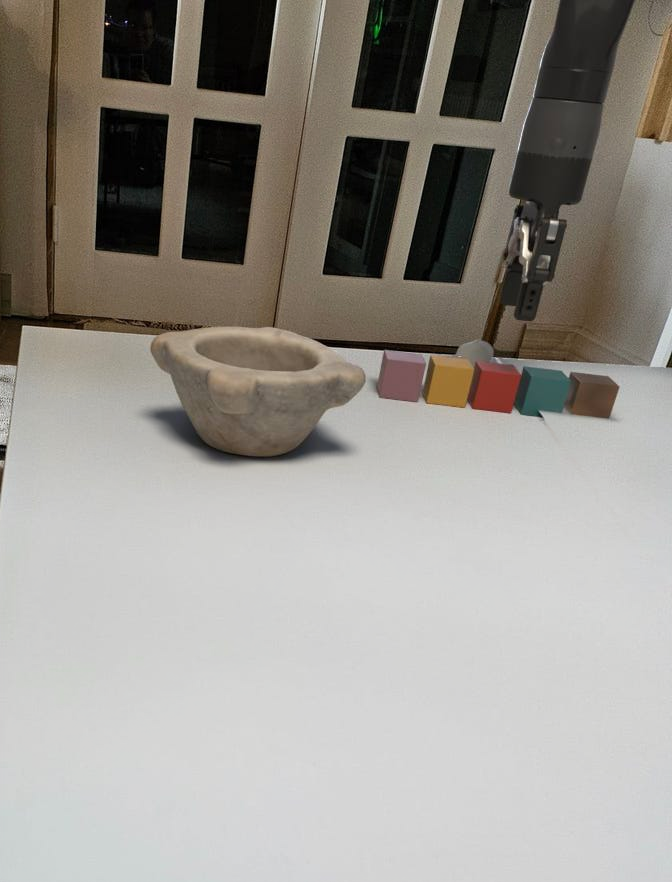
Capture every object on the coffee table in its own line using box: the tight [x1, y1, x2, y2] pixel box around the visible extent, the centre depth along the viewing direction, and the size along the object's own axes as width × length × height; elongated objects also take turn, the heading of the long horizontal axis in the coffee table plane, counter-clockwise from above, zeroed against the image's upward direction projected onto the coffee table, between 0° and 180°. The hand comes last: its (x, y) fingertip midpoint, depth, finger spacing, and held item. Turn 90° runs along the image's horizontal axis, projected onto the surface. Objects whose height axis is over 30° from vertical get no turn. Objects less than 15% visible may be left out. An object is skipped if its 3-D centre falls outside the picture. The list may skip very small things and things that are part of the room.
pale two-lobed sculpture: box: [452, 338, 495, 368], centre depth 124 cm, size 4×8×5 cm
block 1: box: [376, 349, 427, 403], centre depth 111 cm, size 4×4×4 cm
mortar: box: [149, 326, 366, 457], centre depth 90 cm, size 17×17×9 cm
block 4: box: [563, 371, 621, 420], centre depth 110 cm, size 4×4×4 cm
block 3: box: [513, 365, 571, 418], centre depth 110 cm, size 4×4×4 cm
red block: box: [467, 361, 522, 414], centre depth 110 cm, size 4×4×4 cm
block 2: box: [422, 354, 474, 409], centre depth 110 cm, size 4×4×4 cm
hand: (515, 312), depth 106 cm, fingers open, 8 cm apart
